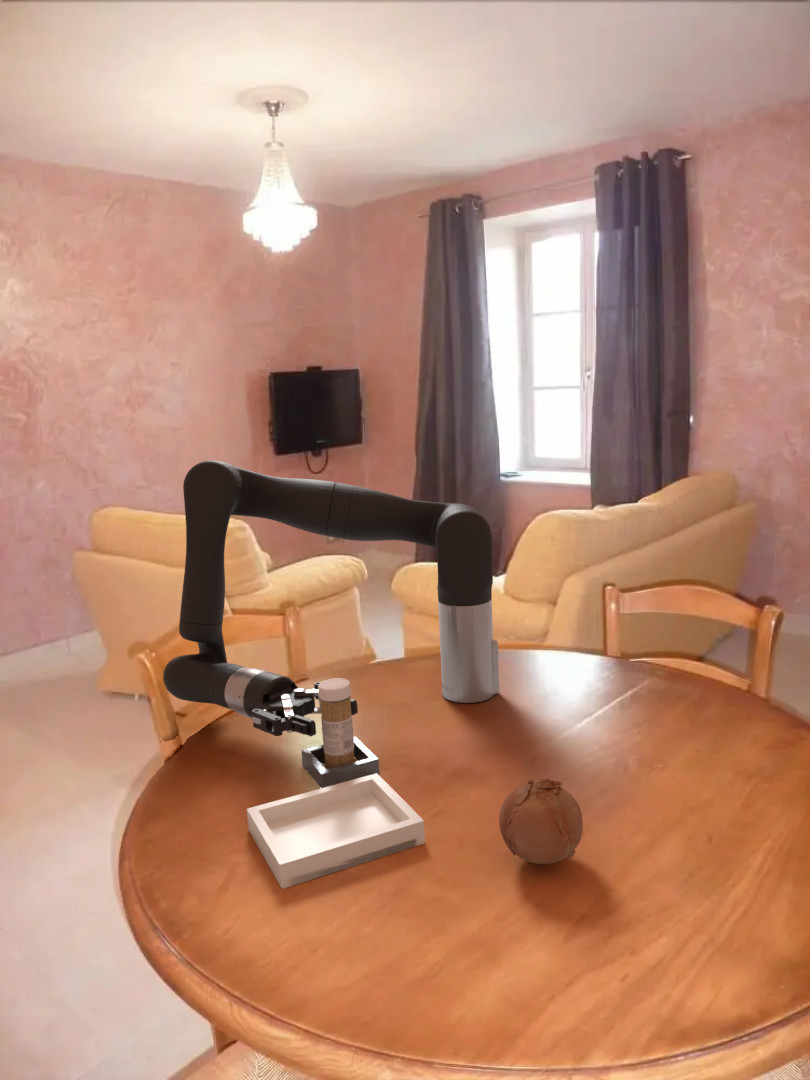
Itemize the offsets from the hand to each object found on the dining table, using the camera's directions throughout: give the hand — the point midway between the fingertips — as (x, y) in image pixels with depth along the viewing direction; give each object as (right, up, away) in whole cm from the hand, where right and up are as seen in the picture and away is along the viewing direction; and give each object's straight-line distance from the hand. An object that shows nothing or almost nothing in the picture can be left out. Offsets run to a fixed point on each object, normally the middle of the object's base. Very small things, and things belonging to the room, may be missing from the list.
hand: (335, 718), depth 118 cm
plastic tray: (+1, -11, -16) cm, 19 cm away
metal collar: (+1, -8, +1) cm, 8 cm away
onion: (+26, -12, -23) cm, 36 cm away
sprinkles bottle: (+1, -8, +1) cm, 8 cm away
